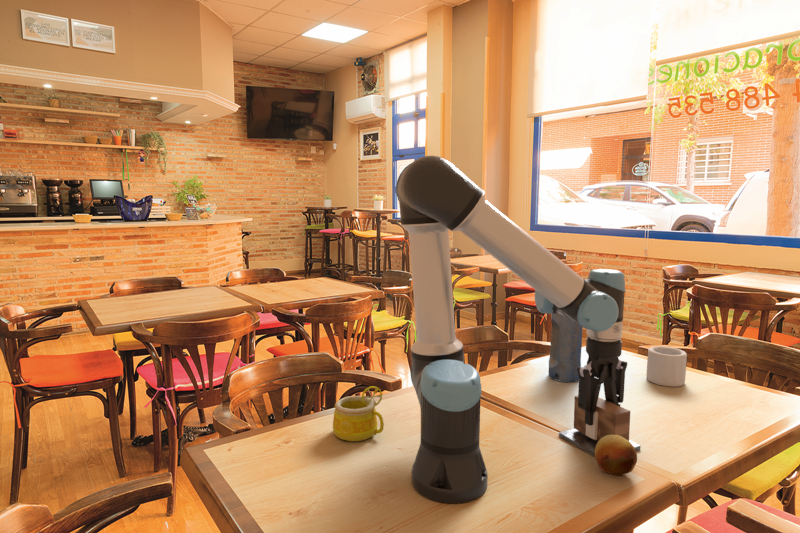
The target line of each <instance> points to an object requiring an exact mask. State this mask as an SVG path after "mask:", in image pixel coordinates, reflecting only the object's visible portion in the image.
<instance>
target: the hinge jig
mask: <svg viewBox="0 0 800 533" xmlns="http://www.w3.org/2000/svg"><path fill="white" fill-rule="evenodd" d="M558 437H559V438H560V439H563V440H565V441H567V443H569V444H571V445H573V446H574V447H576V448H578V449H580V450H582V451H583V452H584V453H587V454H588V455H590V456H591V457H594V458H595V448H596V445H597V443H598V441H597V440H594V439H592V438H590V437H588V436H586V434H584V433H582V432H580V431H578V430H576V429H575V428H574V427H573V428H572V429H568V430H567V429H566V430H563V431H559V432H558ZM629 442H630V443H631V444H632V445H633V446H634V448H635V450H636V452H637V451H640V450H641V445H640V444H638V443H636V442H634V441H633V440H630V439H629Z"/></svg>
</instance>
